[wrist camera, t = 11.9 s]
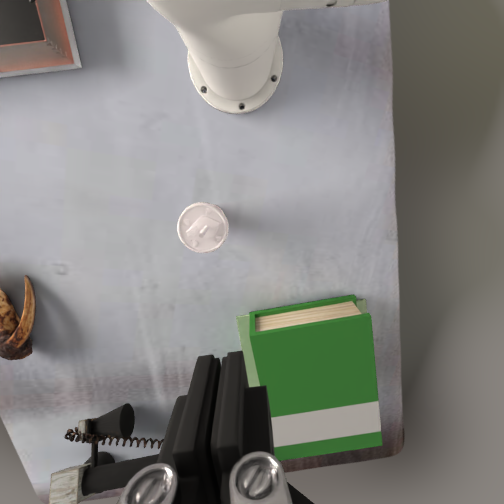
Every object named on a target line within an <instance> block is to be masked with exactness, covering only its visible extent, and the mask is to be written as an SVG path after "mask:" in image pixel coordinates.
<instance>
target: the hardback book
mask: <svg viewBox="0 0 504 504" xmlns="http://www.w3.org/2000/svg"><path fill="white" fill-rule="evenodd" d="M249 337H250V342H251V346H252V351H253V356H254V360H255V365H256V370H257V374H258V379H259V384H260V386H264V385H266V386H267V391H268V398H269V404H270V411H271V420H272V430H273V442H274V453H275V457H276V458H277V459H278V460H279V461H281V460H288V459H295V458H301V457H308V456H315V455H321V454H328V453H335V452H342V451H348V450H355V449H362V448H369V447H375V446H382V436H381V424H380V413H379V401H378V389H377V378H376V366H375V355H374V343H373V332H372V320H371V315H370V314H369V313H365V314H361V312H360V311H359V310H358V308H357V303H356V296H355V295H354V294H353V295H348V296H342V297H336V298H330V299H324V300H319V301H313V302H307V303H301V304H295V305H290V306H284V307H278V308H272V309H266V310H261V311H255V312H249Z"/></svg>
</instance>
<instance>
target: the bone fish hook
mask: <svg viewBox="0 0 504 504" xmlns="http://www.w3.org/2000/svg"><path fill="white" fill-rule="evenodd" d="M24 279H25V302H24V309H23V314H22V318H21V320H20V318H19V317H18V315H17V313H16V312H15V310H14V307H13V305H12V304H11V301H10V300H9V298H8V296H7V295H6V294H5V293H4V292H3V291H2V290H1V288H0V356H1V357H2V358H5V359H8V360H17V359H23V358H25V357H26V356H29V355H30V354H32V352H33V351H32V340H31V337H30V336H29V335H30V333H31V331H32V328H33V324H34V319H35V311H36V300H35V292H34V288H33V285H32V283H31V281H30V279H29V277H28V276H27V275H25V278H24Z"/></svg>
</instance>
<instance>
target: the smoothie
mask: <svg viewBox="0 0 504 504" xmlns="http://www.w3.org/2000/svg"><path fill="white" fill-rule="evenodd" d="M177 230H178V235H179V237H180V239H181V241H182V242H183V244H184V245H185V246H186V247H187V248H189V249H190V250H192V251H195V252H198V253H209V252H212V251H215V250H217V249H218V248H219V247H220V246H222V244H223V243H224V242H225V240H226V238H227V235H228V230H229V225H228V221H227V218H226V216H225V214H224V213H223V211H222V210H221V208H220V207H218V206H217V205H213V204H210V203H204V202H200V203H195V204H192V205H190V206H188V207H187V208H186V209H185V210H184V211H183V213H182V214H181V215H180V217H179V220H178V224H177Z"/></svg>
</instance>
